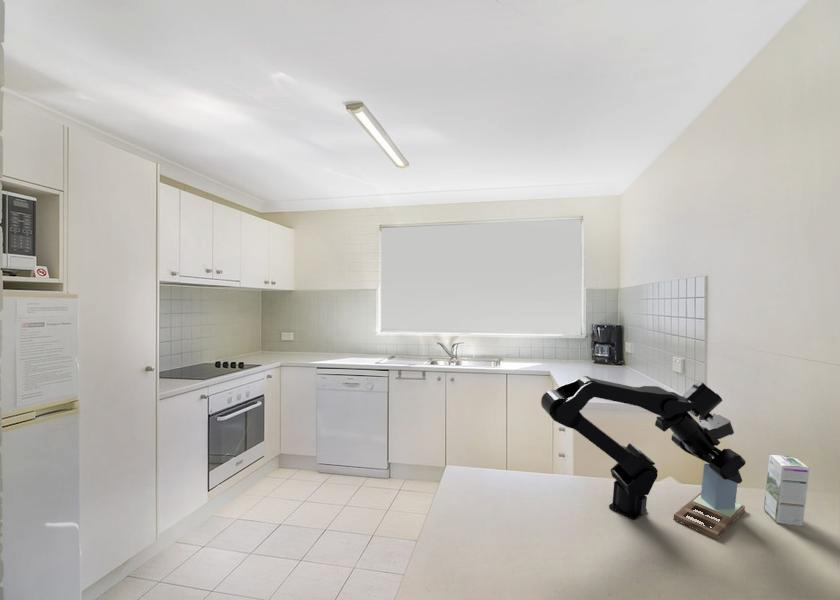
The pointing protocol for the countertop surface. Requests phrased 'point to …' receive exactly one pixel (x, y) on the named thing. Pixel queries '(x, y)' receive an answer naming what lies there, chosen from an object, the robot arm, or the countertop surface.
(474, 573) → the countertop surface
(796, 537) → the countertop surface
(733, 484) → the blue block
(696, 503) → the board
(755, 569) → the countertop surface
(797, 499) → the syrup box
